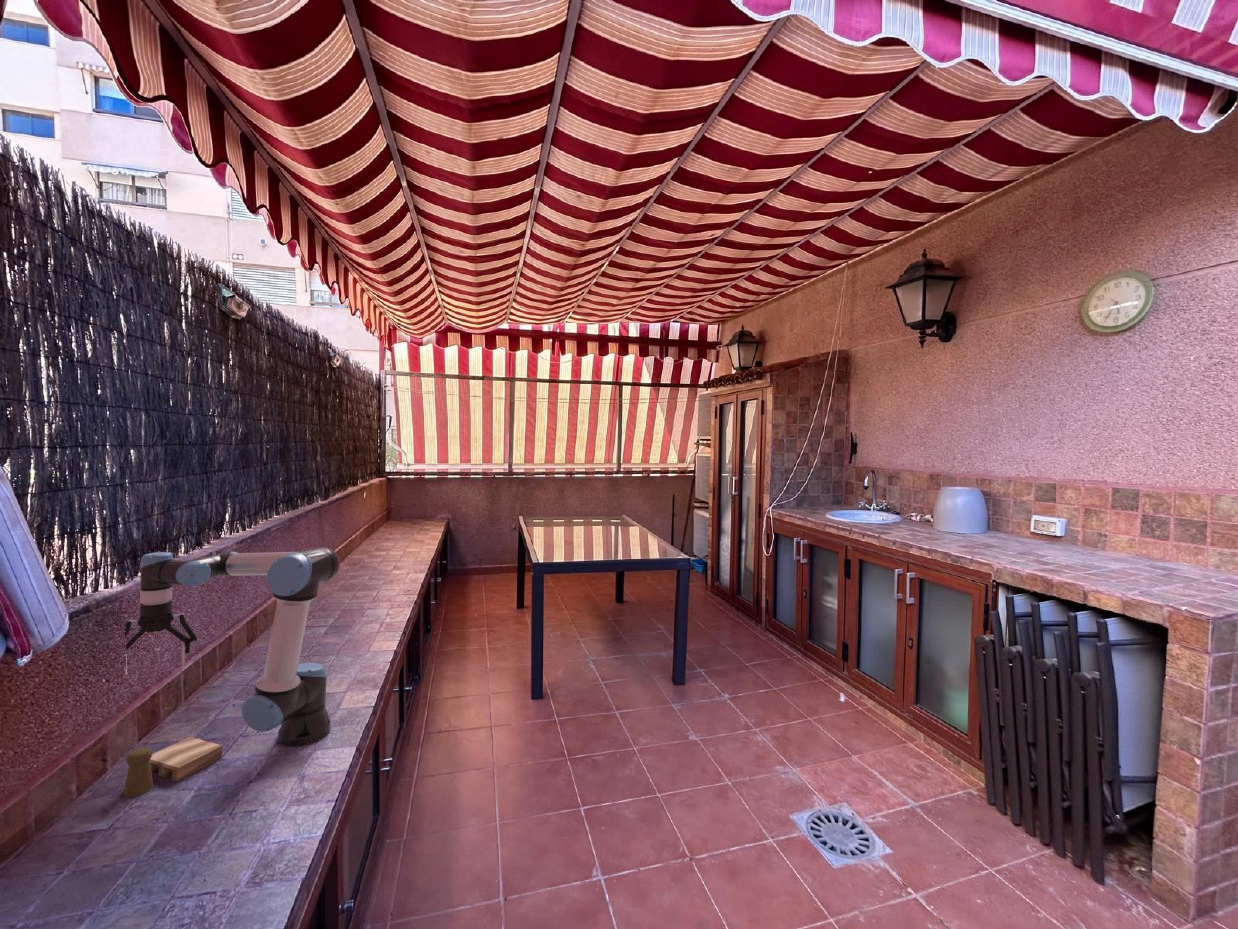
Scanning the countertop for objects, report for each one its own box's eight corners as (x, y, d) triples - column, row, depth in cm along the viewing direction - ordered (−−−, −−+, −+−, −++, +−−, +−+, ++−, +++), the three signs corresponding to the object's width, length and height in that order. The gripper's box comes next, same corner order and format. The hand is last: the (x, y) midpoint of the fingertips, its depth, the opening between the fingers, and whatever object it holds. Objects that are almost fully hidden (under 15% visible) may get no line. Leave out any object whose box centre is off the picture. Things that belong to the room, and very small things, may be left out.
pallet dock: (222, 758, 157) (222, 745, 157) (178, 782, 145) (178, 768, 145) (190, 749, 161) (190, 736, 161) (144, 771, 149) (145, 757, 149)
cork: (151, 780, 146) (152, 741, 145) (155, 789, 142) (156, 750, 142) (121, 790, 141) (122, 750, 141) (125, 800, 137) (126, 759, 137)
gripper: (206, 593, 173) (205, 656, 173) (102, 605, 157) (101, 674, 157) (206, 598, 167) (205, 663, 167) (98, 611, 151) (97, 682, 152)
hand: (155, 668), depth 162 cm, fingers open, 13 cm apart
